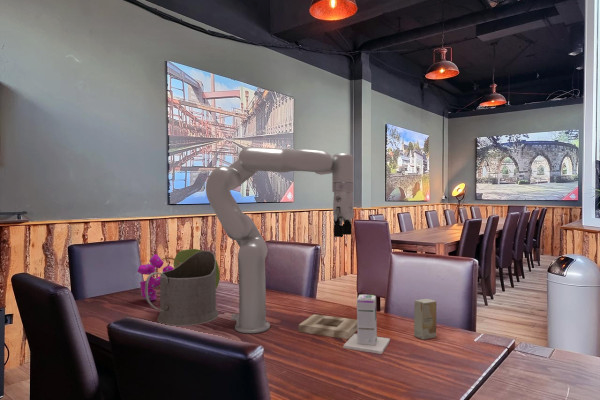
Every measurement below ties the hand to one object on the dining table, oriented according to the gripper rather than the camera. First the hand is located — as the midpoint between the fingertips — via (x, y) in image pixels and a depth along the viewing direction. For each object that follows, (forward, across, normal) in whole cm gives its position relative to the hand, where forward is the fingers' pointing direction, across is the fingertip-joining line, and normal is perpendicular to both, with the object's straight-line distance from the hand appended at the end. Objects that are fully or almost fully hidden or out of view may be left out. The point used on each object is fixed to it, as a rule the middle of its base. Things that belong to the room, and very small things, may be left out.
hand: (342, 235), depth 142 cm
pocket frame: (+33, -3, +4) cm, 34 cm away
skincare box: (+34, +3, -28) cm, 44 cm away
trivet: (+33, -12, -12) cm, 37 cm away
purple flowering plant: (+34, +11, +85) cm, 92 cm away
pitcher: (+34, -15, +61) cm, 71 cm away
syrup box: (+33, -12, -12) cm, 37 cm away
